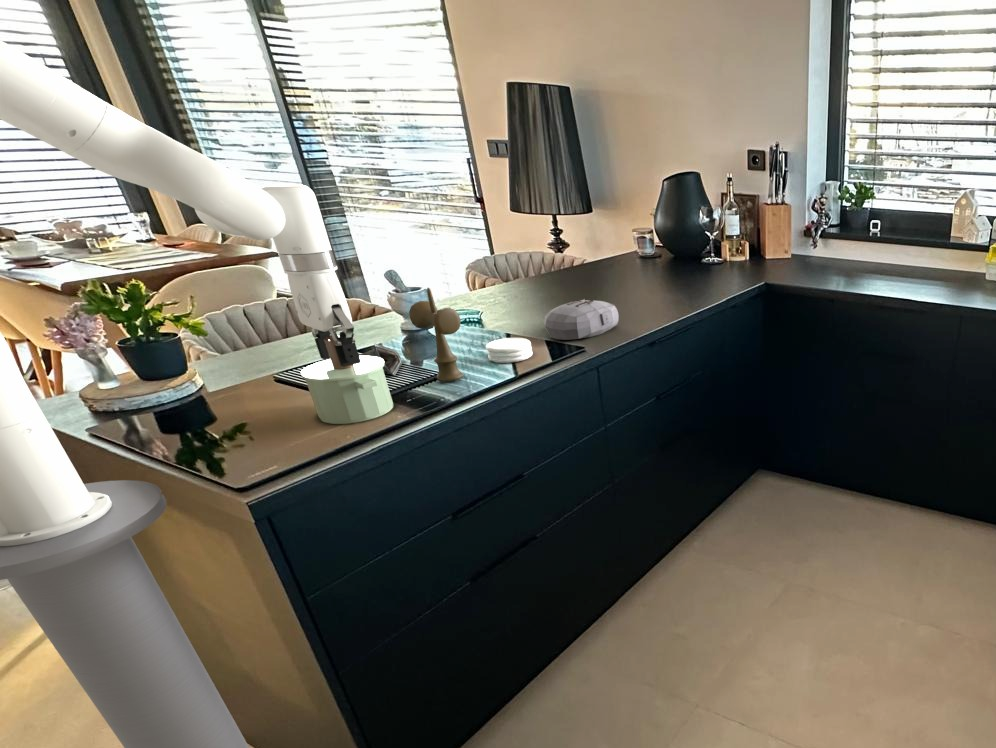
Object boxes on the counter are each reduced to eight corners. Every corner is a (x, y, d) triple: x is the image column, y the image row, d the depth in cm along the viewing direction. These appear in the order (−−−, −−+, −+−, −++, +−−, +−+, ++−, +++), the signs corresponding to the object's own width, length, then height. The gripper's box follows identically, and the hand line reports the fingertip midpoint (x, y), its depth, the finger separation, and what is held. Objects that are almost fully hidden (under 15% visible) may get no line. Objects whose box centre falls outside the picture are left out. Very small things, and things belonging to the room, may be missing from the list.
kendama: (451, 371, 141) (429, 282, 132) (476, 380, 136) (455, 288, 127) (424, 379, 136) (400, 286, 127) (450, 388, 132) (427, 293, 123)
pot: (346, 433, 112) (331, 388, 108) (300, 410, 120) (285, 368, 116) (413, 411, 121) (401, 369, 117) (367, 392, 129) (354, 352, 125)
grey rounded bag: (586, 320, 181) (532, 337, 165) (582, 291, 177) (527, 306, 161) (627, 327, 175) (576, 346, 159) (624, 297, 172) (571, 313, 156)
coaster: (486, 353, 152) (483, 340, 151) (529, 348, 157) (527, 334, 155) (490, 366, 145) (487, 351, 143) (536, 360, 149) (533, 346, 147)
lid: (323, 390, 109) (311, 353, 106) (289, 375, 115) (276, 340, 112) (399, 369, 119) (390, 336, 116) (364, 356, 125) (354, 324, 122)
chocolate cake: (369, 364, 145) (336, 340, 133) (400, 353, 146) (369, 329, 135) (380, 399, 143) (347, 378, 131) (411, 387, 144) (381, 366, 132)
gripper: (261, 259, 109) (296, 357, 117) (308, 271, 101) (342, 376, 109) (309, 253, 114) (340, 347, 122) (357, 264, 106) (387, 364, 114)
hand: (340, 360), depth 115 cm, fingers open, 6 cm apart
